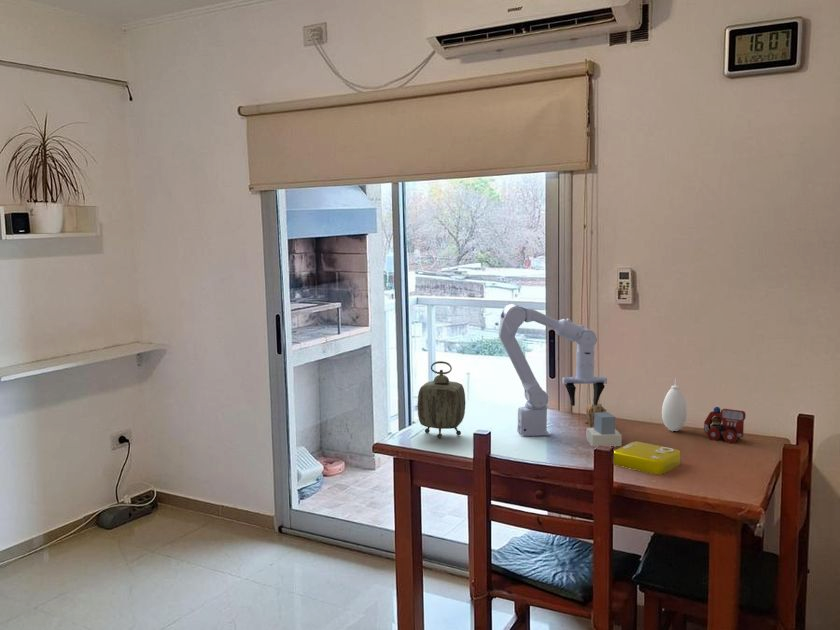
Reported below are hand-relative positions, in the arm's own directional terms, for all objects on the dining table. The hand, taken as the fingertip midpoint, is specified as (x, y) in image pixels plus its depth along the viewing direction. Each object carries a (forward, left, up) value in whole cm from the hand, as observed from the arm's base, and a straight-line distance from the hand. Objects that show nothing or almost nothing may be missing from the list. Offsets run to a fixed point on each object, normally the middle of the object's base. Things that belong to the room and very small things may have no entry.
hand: (584, 404), depth 243 cm
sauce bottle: (+31, 0, -10) cm, 32 cm away
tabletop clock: (-48, -1, -10) cm, 49 cm away
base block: (+3, -12, -10) cm, 16 cm away
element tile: (+8, -34, -10) cm, 37 cm away
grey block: (+3, -12, -6) cm, 14 cm away
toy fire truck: (+43, -11, -10) cm, 45 cm away
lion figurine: (+6, +9, -10) cm, 15 cm away
